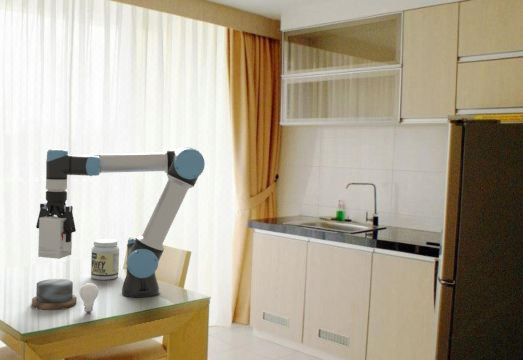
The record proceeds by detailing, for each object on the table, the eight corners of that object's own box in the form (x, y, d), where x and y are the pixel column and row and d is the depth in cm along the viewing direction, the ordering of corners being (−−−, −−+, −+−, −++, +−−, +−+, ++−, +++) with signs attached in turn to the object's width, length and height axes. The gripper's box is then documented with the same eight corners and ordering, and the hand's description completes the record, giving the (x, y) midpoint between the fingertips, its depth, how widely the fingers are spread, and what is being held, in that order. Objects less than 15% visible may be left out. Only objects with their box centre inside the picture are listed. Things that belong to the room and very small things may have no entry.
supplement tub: (85, 278, 258) (86, 241, 257) (101, 273, 270) (101, 237, 269) (108, 281, 255) (109, 244, 253) (123, 276, 266) (124, 240, 265)
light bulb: (99, 310, 213) (100, 281, 212) (95, 315, 206) (95, 285, 206) (81, 309, 213) (82, 280, 212) (76, 315, 206) (77, 285, 205)
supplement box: (59, 259, 212) (60, 219, 211) (37, 257, 214) (38, 217, 213) (72, 254, 221) (73, 216, 220) (51, 252, 223) (51, 214, 222)
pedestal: (85, 301, 223) (85, 281, 222) (55, 312, 208) (55, 290, 208) (53, 295, 229) (54, 276, 229) (22, 305, 214) (22, 284, 214)
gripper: (86, 192, 215) (85, 250, 216) (41, 187, 223) (40, 244, 225) (72, 193, 208) (71, 254, 209) (26, 188, 217) (25, 247, 218)
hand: (55, 249), depth 217 cm, fingers closed on supplement box, 10 cm apart
